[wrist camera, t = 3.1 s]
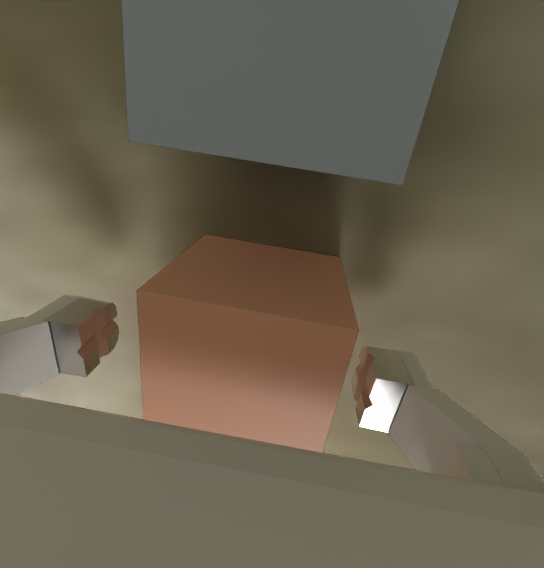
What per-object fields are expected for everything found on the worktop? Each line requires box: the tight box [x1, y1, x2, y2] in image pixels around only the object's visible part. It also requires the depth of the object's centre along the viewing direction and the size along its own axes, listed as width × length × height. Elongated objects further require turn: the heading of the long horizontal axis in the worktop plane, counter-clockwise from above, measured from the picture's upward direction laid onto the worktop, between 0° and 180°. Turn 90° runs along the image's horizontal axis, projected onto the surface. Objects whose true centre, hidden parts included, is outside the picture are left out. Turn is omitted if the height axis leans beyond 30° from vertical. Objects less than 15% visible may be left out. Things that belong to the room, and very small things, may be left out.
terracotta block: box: [137, 235, 359, 453], centre depth 10 cm, size 5×5×5 cm
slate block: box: [121, 0, 459, 185], centre depth 7 cm, size 5×5×5 cm
